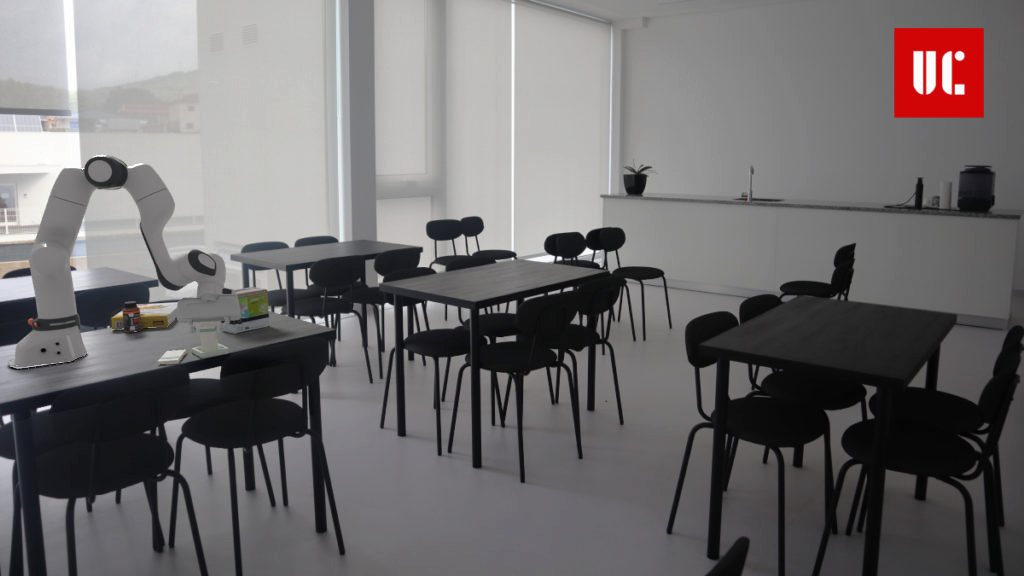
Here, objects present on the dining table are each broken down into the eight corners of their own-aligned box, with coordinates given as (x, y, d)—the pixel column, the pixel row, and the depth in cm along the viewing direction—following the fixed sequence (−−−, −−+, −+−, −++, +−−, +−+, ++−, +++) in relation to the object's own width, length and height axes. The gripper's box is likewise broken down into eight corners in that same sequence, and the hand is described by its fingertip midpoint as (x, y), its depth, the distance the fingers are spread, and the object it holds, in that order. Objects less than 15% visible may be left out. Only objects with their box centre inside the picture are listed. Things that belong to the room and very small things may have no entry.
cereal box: (110, 317, 290) (129, 303, 317) (111, 332, 291) (130, 316, 318) (167, 315, 295) (182, 300, 322) (169, 329, 296) (183, 313, 323)
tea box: (235, 334, 282) (232, 294, 280) (220, 331, 288) (216, 292, 286) (270, 326, 294) (267, 288, 291) (254, 323, 300) (251, 285, 297)
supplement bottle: (137, 333, 287) (133, 303, 285) (121, 333, 287) (117, 303, 285) (145, 329, 293) (141, 300, 291) (129, 329, 293) (126, 300, 291)
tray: (201, 358, 251) (201, 353, 250) (191, 353, 257) (191, 348, 257) (229, 353, 257) (228, 347, 256) (218, 348, 263) (218, 343, 263)
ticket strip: (157, 365, 244) (157, 360, 244) (167, 354, 257) (167, 350, 257) (178, 363, 245) (177, 359, 245) (186, 352, 258) (186, 348, 258)
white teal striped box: (201, 353, 255) (199, 327, 253) (204, 350, 258) (201, 324, 257) (216, 352, 255) (214, 326, 254) (218, 349, 259) (216, 323, 258)
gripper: (176, 292, 259) (172, 328, 251) (240, 289, 263) (238, 324, 255) (180, 303, 264) (176, 338, 256) (242, 300, 268) (241, 334, 260)
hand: (207, 331), depth 256 cm, fingers open, 8 cm apart
